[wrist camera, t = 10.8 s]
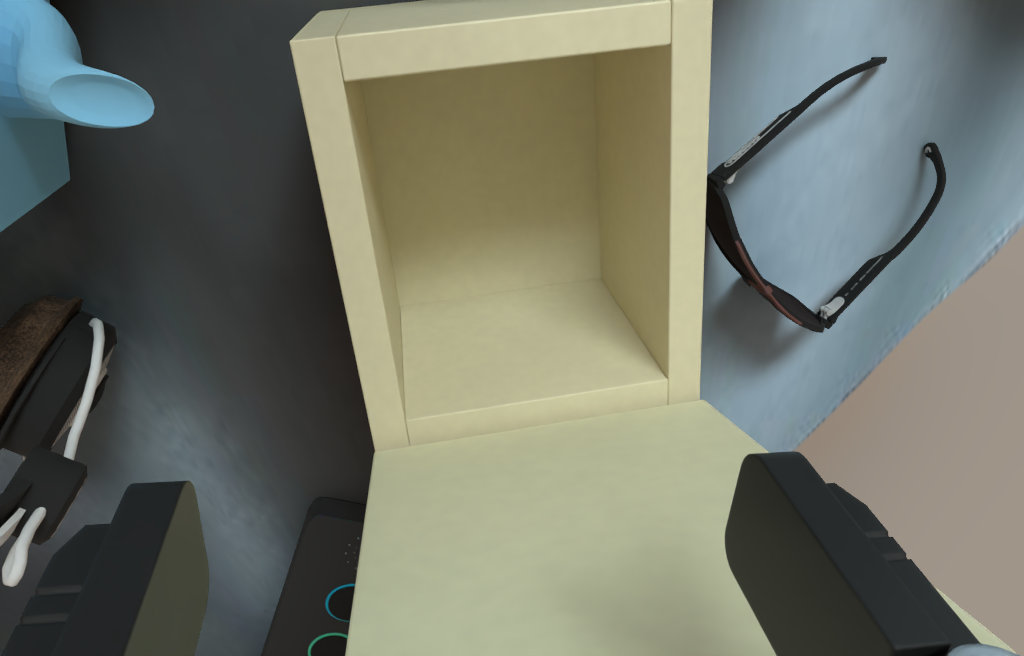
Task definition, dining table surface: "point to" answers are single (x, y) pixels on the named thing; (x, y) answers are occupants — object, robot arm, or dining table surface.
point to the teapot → (49, 103)
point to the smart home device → (319, 583)
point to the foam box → (513, 205)
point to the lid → (562, 543)
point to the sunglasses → (736, 253)
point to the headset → (46, 415)
